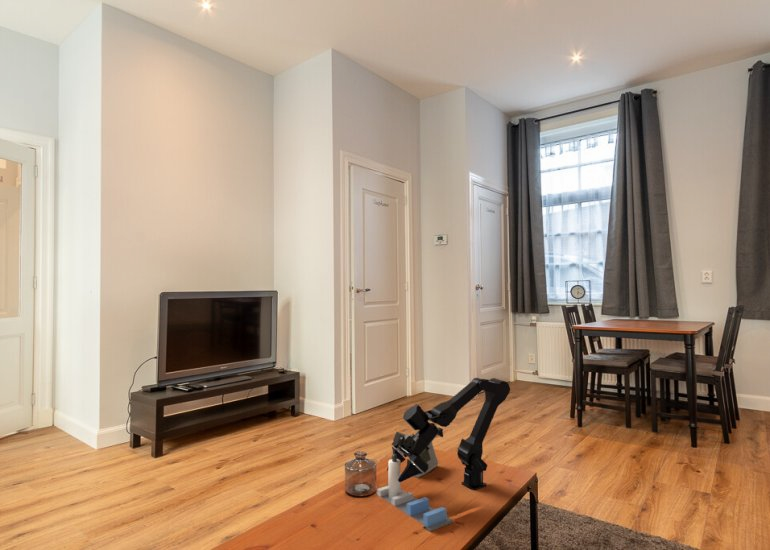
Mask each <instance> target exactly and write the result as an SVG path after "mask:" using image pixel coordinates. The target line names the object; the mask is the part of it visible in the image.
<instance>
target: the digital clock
mask: <svg viewBox="0 0 770 550" xmlns="http://www.w3.org/2000/svg"><path fill="white" fill-rule="evenodd" d="M428 447H429V448H430V449H429V450H428V451H427V450H425V451H424V452H423V453H422V455H421V456H420V457H421V458H422V459H423V460H424V461H425V462H426V463H427V464H428V465H429V469H428V470H427V472H426V473H424V472H423V471H421V472H422V474H421V473H420V474H418V475H415V476H413V477H414V478H421V477H422V476H425V475H427V474H428V473H430V472H431V471H433V470H434V469H435V468H436V467H437V466H439V462H438V457H437V455H436V451H435V448H434V447H435V446H434V445H433V441H432V442H431V443H430V445H429V446H428ZM407 458H408V460H409V461H411V460H410V458H409V457H407ZM411 462H412V461H411Z"/></svg>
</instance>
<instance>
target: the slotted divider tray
mask: <svg viewBox="0 0 770 550" xmlns="http://www.w3.org/2000/svg"><path fill="white" fill-rule="evenodd" d="M375 495H377V496H379V498H381V499H383V500H384V501H386V502H388V503H389V504H391V505H392V506H394V507H395V508H397V509H399V511H401V512H402V513H405V514H406V515H407V516H409V517H411V518H412V519H413V520H415V521H417V522H418V523H420V524H421V525H423V527H422V528H423V529H425V530H427V531H428V532H430V533H431V532H433V531H436V530H438V529H441V528H442V527H445V526H447V525H450V524H452V523H453V522H454V521H453V519H452V518H450V517H448V515H447V513H448V512H447V508H445V507H443V506H441V507H438V508H436V509H435V508H433V507H432V506H430V499H429V498H428V497H425V496H424V497H421V498H416V497H414V493H413V492H411V491H408V492H407V491H405V490H403V489H401V495H398V496H395V497H392V498H391V500H390V499H389V498H388V485H386V486H382V487H379V488H377V491H376V493H375Z"/></svg>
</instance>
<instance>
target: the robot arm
mask: <svg viewBox="0 0 770 550" xmlns="http://www.w3.org/2000/svg"><path fill="white" fill-rule="evenodd" d="M481 392H484V394H485V395H484V402H483V405H482V407H481V409H480V412H479V414H478V416H477V419H476V421H475V423H474V426H473V428H472V430H471V432H470V435H469V436H468V437H467V438H466V439H464V438H462V439H461V440H460V443H459V445H458V447H457V454H456V455H457V457H458V459H459V460H460V461H461V464H462V465H463V466H465V467H464V472H463V481H461V485H462V486H465V487H467V488H469V489H471V490H474V491H476V490H477V489H481V488H484V487H486V486H487V483H485V482H484V472H486V471H487V468H488V464H487V463H486V461H484V460H483V458H482V457H483V451H484V450H483V443H484V440H485V437H486V436H487V433H488V430H489V428H490V426H491V424H492V421H493V419H494V416H495V414H496V412H497V409H498V407H499V406H500V405H501V404H502V403H504V402H505V401H506V399H507V397H508V396H509V394H510V392H511V387H510V384H509V382H507V381H505V380H502V379H498V378H496V377H493V378H491V379H487V378H486V379H485V378H479V377H474V378H472V379H471V381H470V382H469V383H468V384H467V385H466V386H464V387H463V388H461V390H460V391H458V392H457V393H456V394H454V395H453V396H452V397H451V398H450V399H449V400H447V401H443V402H440V403H438V404H437V405H436V406H435V405H434V406H433V407H432V409H429V410H426V411H425V410H424V409H423V408H422V407H421V406H420V405H419V404H417V403H416V404H415V405H414V406H411V407H409V408H408V409H406V410H405V412H404V413H403V416H402V419H403V420H404V421H405V422H406V423H407V424H408V425H409V426H410V427H411V428H412V429H413V430H414V431H417V432H416V433H415V434H414V433H411V434H410V435H409V434H405V433H402V432H399V431H396V433H395V435H394V437H393V440H392V443H391V445H392V446H391V449H392V454H396V455H397V459H399V460H400V461H401V464H402V463H403V462H404V461H406V465H405V467H404V469H403V470H402V472H401V475H400V477H399V479H398V481H399V482H401V483H402V482H404V481H407V480H408V479H411V478H412V477H414V476H415V475H418V474H420V473H421V474H422V472H421V471H423V472H424V473H426V472H427V470H428V469H429V465H428V464H427V463H426V462H425V461H424V460H423V459H422V458H421V457H420V456H421V455H422V453H423V452H424V451H425V450H427V451H428V450H429V449H430V448H429V447H428V446H429V445H430V443H431V442H432V443H433V441H434V440H435V439H436V437H437V436H439V437H441V438H443V437H444V432H443V431H444V429H443V428H446V427H448V426H450V425H451V424H452V422H454V420H455V419H456V417H457V415H458V412H459V411H460V410H461V409H463V408H464V407H465V406H466V405H468V404H469V403H470V402H471V400H473V399H474V398H475V397H477V396H478V395H479V394H480V393H481ZM429 421H430V422H429ZM436 424H437V425H438V426H440V427H438V426H437V425H436ZM442 427H443V428H442ZM408 457H409V458H410V460H411V461H412V462H411V461H409V458H408ZM407 458H408V459H407ZM391 459H392V457H391ZM386 471H387V472H388V467H387V468H386Z"/></svg>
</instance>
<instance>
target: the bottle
mask: <svg viewBox="0 0 770 550" xmlns="http://www.w3.org/2000/svg"><path fill="white" fill-rule="evenodd" d="M391 458H392V459H390V458H389V460H388V466H387V468H388V471H387V472H388V485H387V486H388V498H389V499H390V500H391V498H392V497H395V496H398V495H401V490H402V489H401V483H402V482H399V481H398V479H399V477H400V475H401V474H402V472H401V464H402V463H401V461H400V460H399V459H397V455H396V454H393V453H392V454H391Z"/></svg>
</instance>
